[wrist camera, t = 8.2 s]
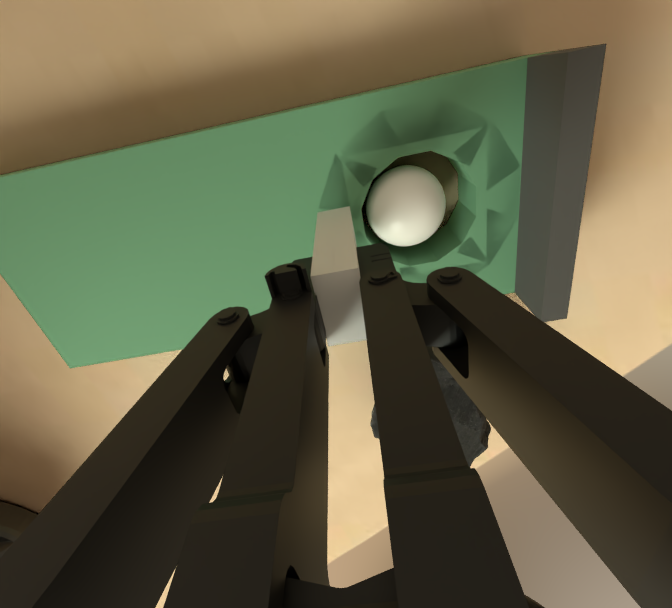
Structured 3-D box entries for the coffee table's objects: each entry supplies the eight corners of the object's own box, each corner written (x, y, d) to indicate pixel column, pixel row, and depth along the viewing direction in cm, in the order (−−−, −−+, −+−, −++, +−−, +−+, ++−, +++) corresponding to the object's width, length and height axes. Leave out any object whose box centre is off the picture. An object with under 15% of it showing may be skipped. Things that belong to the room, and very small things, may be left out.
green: (96, 339, 25) (36, 404, 20) (-10, 177, 20) (-129, 210, 15) (513, 265, 23) (566, 318, 18) (524, 55, 17) (606, 43, 12)
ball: (404, 274, 19) (464, 232, 19) (390, 212, 16) (462, 165, 16) (361, 238, 21) (415, 202, 22) (342, 179, 18) (406, 139, 19)
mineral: (528, 349, 26) (573, 412, 21) (462, 429, 31) (486, 497, 26) (400, 305, 25) (416, 362, 20) (348, 397, 29) (350, 463, 24)
